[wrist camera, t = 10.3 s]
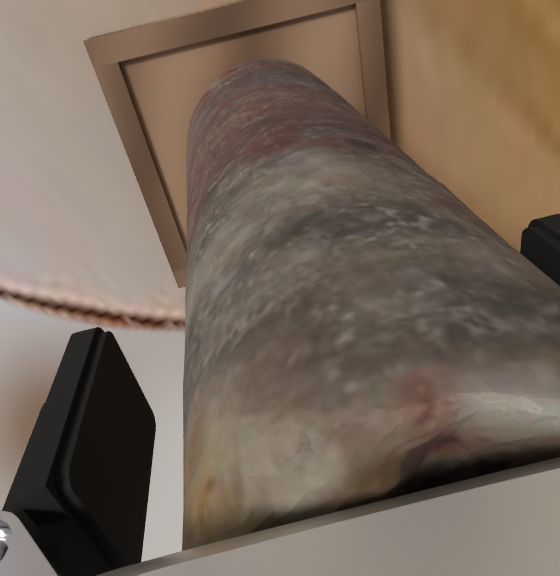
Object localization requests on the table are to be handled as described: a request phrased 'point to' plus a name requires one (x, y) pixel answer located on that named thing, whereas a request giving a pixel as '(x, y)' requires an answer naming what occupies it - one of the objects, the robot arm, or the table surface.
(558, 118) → the table surface
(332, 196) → the grey brown rough cylinder
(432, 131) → the table surface
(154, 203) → the picture frame
